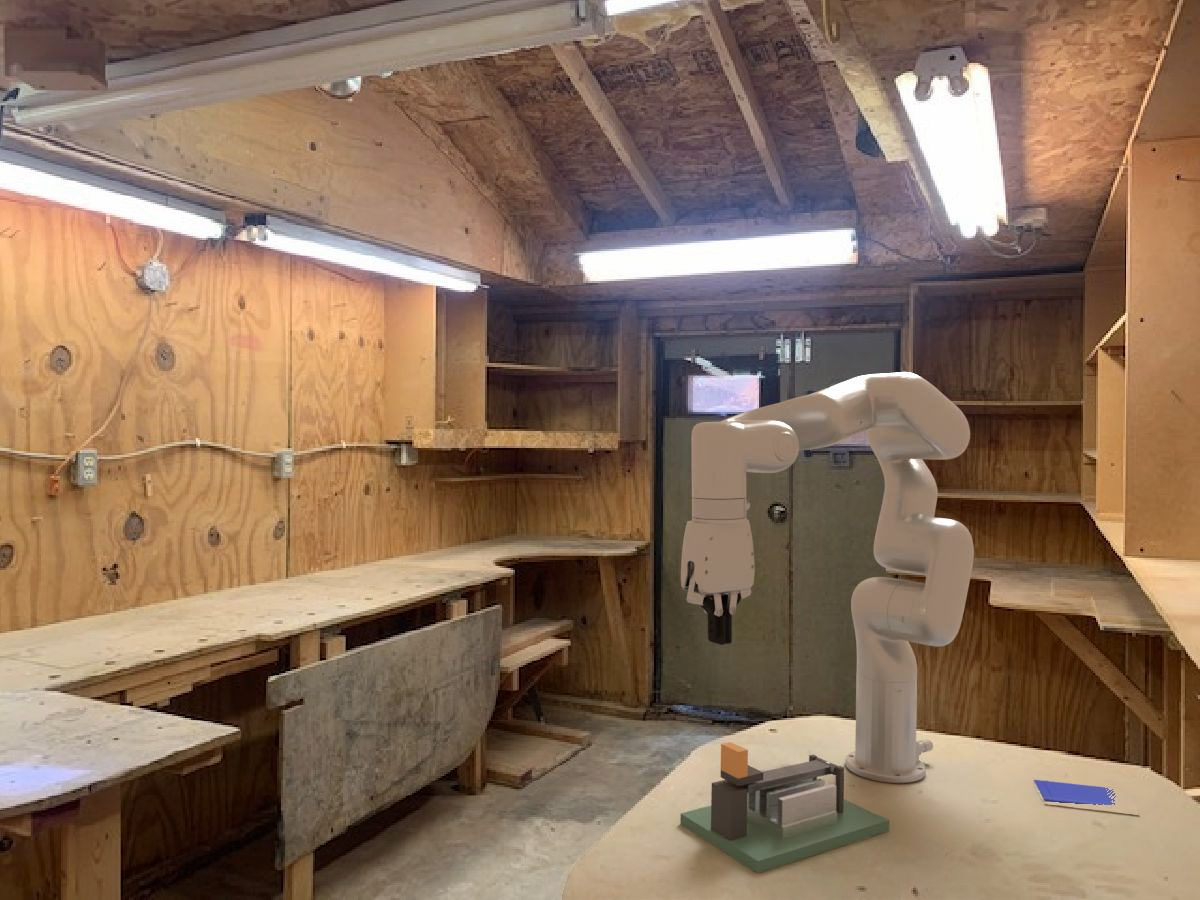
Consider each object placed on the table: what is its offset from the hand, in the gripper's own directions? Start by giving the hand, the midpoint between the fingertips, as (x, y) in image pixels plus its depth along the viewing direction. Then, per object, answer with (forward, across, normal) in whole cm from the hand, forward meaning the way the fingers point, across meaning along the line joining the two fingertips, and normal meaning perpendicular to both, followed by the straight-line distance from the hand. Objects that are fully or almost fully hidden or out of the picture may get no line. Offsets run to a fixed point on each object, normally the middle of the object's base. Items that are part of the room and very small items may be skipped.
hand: (719, 641), depth 120 cm
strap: (+19, -8, +5) cm, 22 cm away
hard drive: (+28, -54, +21) cm, 64 cm away
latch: (+17, 0, +5) cm, 18 cm away
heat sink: (+24, -7, +5) cm, 26 cm away
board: (+26, -7, +5) cm, 27 cm away
